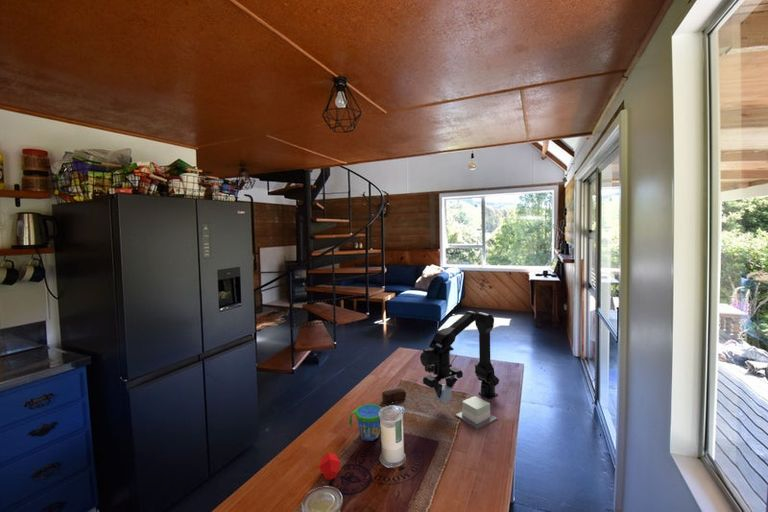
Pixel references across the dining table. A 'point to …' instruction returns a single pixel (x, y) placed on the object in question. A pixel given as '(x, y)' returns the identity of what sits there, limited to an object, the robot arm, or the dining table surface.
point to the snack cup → (367, 421)
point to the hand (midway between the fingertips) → (443, 395)
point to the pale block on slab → (476, 412)
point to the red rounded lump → (329, 466)
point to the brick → (393, 395)
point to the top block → (445, 393)
